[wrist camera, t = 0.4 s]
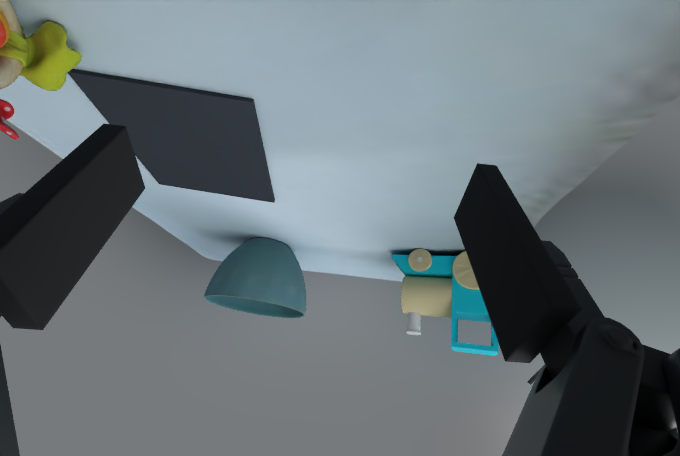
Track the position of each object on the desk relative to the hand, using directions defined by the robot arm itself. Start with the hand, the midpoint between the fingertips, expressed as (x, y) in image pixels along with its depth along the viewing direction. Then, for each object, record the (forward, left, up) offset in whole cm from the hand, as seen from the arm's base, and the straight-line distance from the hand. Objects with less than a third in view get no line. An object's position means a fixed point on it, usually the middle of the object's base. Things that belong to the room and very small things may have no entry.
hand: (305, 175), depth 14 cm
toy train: (+45, +21, -14) cm, 51 cm away
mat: (+23, -15, -14) cm, 31 cm away
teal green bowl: (+54, -10, -14) cm, 56 cm away
